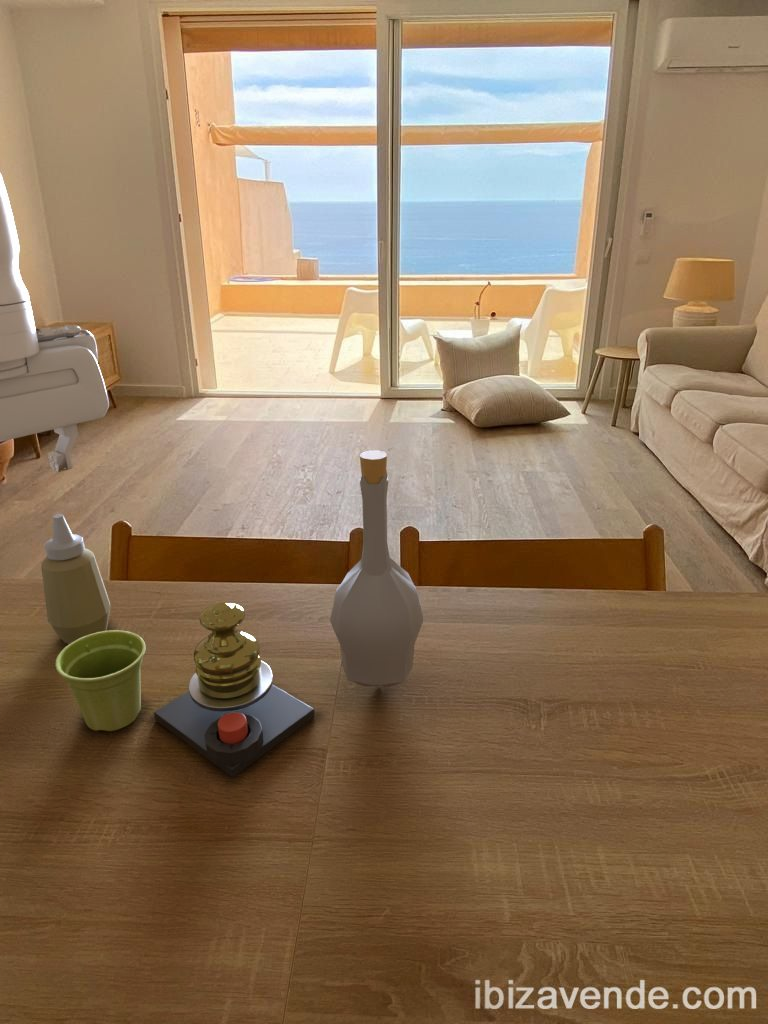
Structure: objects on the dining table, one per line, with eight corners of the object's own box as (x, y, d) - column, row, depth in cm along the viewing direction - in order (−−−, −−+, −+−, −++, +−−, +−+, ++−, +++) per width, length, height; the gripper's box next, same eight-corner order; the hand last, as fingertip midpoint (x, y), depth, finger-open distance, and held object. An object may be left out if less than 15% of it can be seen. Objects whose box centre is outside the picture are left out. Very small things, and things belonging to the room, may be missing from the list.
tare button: (213, 735, 74) (211, 723, 73) (235, 720, 76) (234, 708, 75) (231, 748, 72) (229, 735, 71) (253, 732, 74) (252, 720, 73)
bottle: (352, 727, 79) (342, 481, 66) (319, 671, 88) (305, 446, 76) (440, 699, 83) (446, 463, 70) (399, 649, 92) (399, 432, 80)
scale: (151, 722, 80) (147, 701, 78) (236, 670, 88) (234, 650, 87) (232, 783, 71) (229, 760, 70) (317, 718, 80) (316, 697, 79)
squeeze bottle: (122, 637, 95) (98, 519, 88) (59, 658, 91) (29, 535, 84) (107, 611, 101) (83, 498, 94) (47, 630, 97) (18, 513, 90)
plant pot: (133, 679, 87) (121, 620, 83) (170, 714, 81) (160, 653, 77) (57, 714, 81) (42, 653, 78) (92, 756, 75) (76, 691, 71)
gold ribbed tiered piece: (257, 655, 85) (249, 584, 81) (267, 692, 79) (259, 617, 75) (195, 667, 83) (184, 595, 79) (200, 706, 77) (189, 630, 73)
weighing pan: (172, 688, 81) (171, 684, 80) (237, 650, 87) (236, 646, 87) (224, 724, 75) (224, 719, 75) (289, 680, 82) (289, 676, 81)
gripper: (75, 318, 70) (97, 448, 76) (-168, 348, 56) (-118, 506, 61) (109, 325, 66) (129, 461, 72) (-142, 359, 52) (-91, 526, 58)
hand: (14, 482), depth 66 cm, fingers open, 8 cm apart
